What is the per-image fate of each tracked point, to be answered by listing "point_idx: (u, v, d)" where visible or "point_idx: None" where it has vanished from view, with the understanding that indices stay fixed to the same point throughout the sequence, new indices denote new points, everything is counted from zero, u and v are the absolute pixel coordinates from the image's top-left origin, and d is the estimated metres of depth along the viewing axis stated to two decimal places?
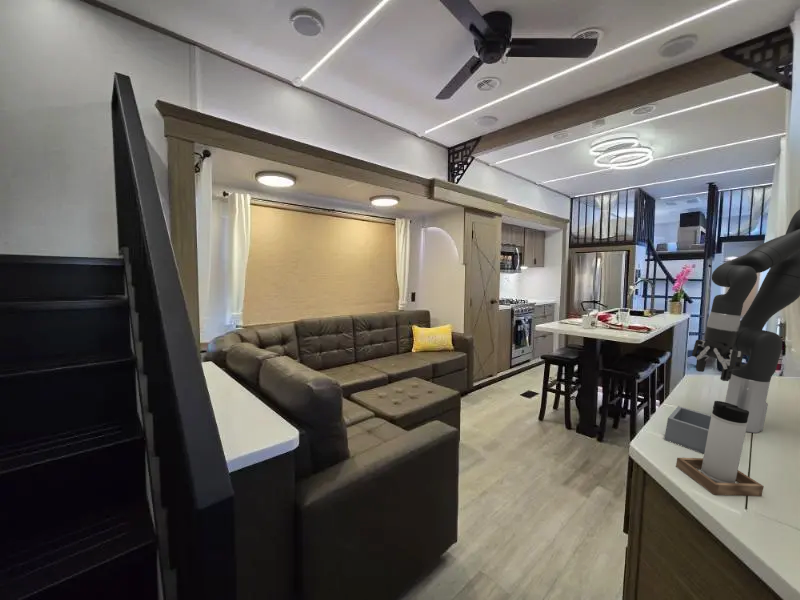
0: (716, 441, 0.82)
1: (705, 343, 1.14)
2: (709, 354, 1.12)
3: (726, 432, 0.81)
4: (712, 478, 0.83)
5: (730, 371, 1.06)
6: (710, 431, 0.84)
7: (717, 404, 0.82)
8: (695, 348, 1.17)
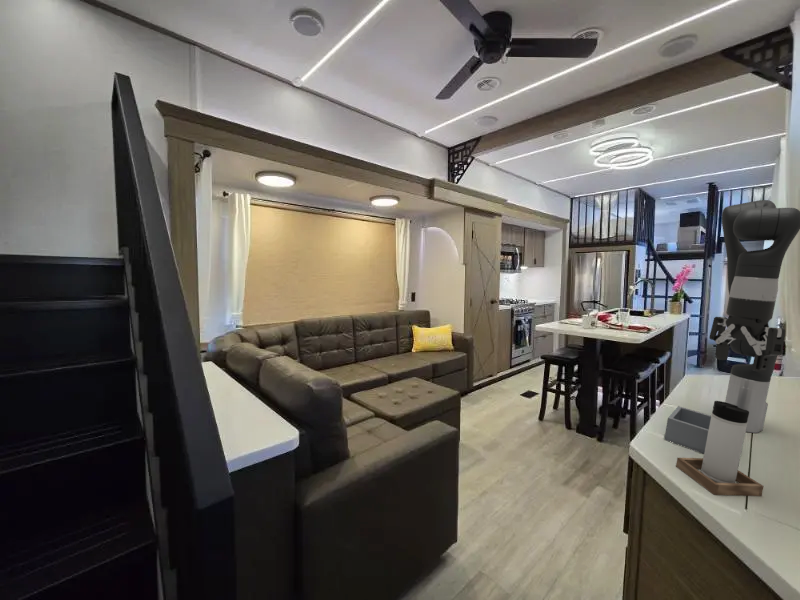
0: (716, 441, 0.82)
1: (728, 321, 0.83)
2: (734, 335, 0.81)
3: (726, 432, 0.81)
4: (712, 478, 0.83)
5: (766, 358, 0.75)
6: (710, 431, 0.84)
7: (717, 404, 0.82)
8: (714, 328, 0.86)
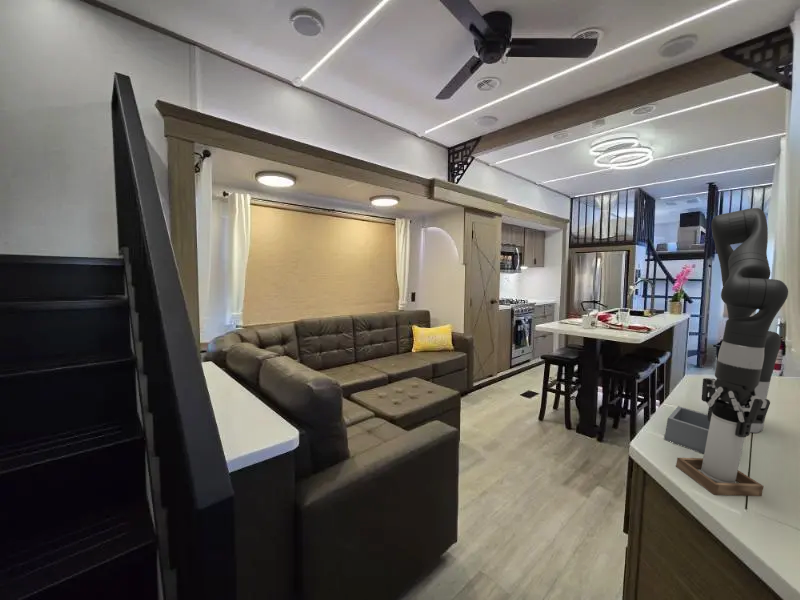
0: (717, 441, 0.82)
1: (716, 382, 0.85)
2: (724, 398, 0.83)
3: (726, 432, 0.81)
4: (712, 478, 0.83)
5: (748, 425, 0.78)
6: (710, 431, 0.84)
7: (717, 404, 0.82)
8: (704, 390, 0.88)
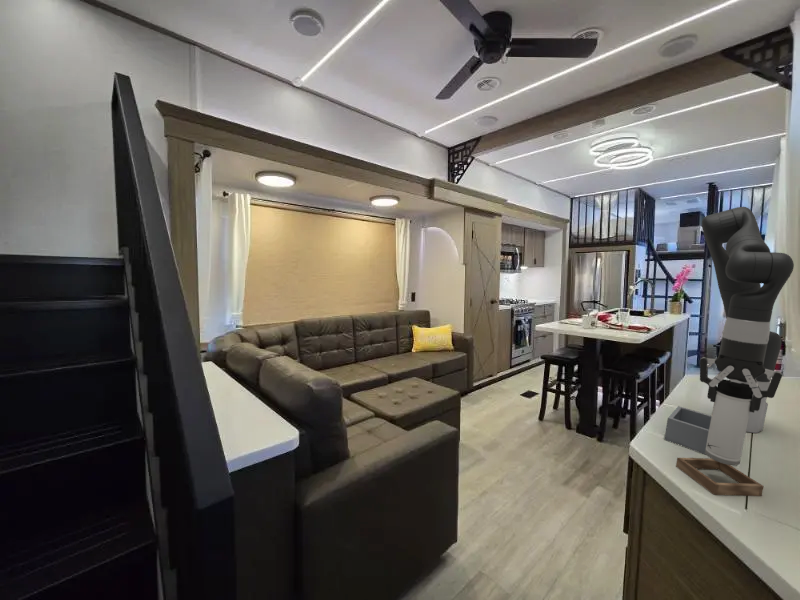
0: (734, 422, 0.80)
1: (719, 361, 0.82)
2: (731, 376, 0.81)
3: (743, 411, 0.79)
4: (729, 459, 0.81)
5: (761, 398, 0.78)
6: (723, 413, 0.81)
7: (734, 384, 0.79)
8: (703, 370, 0.84)
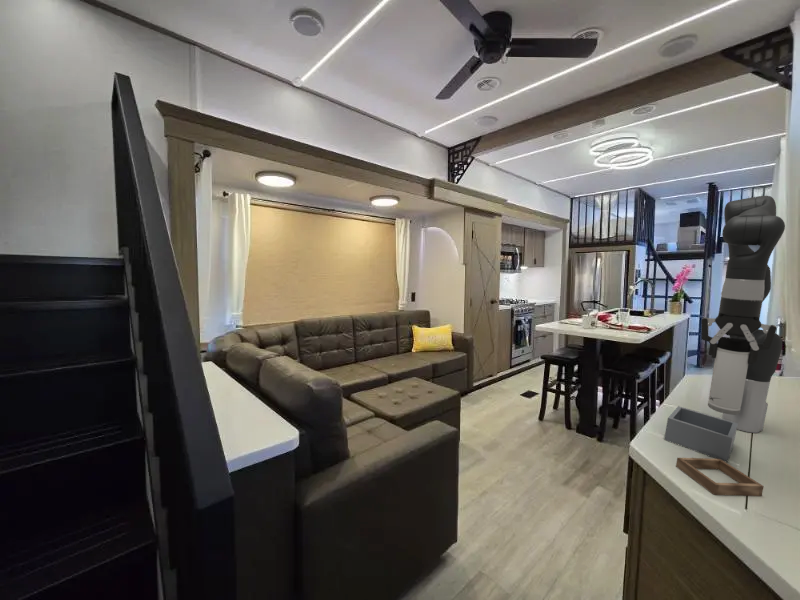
0: (734, 374, 0.87)
1: (719, 319, 0.89)
2: (730, 333, 0.88)
3: (742, 363, 0.86)
4: (730, 409, 0.88)
5: (758, 351, 0.85)
6: (724, 366, 0.88)
7: (733, 339, 0.86)
8: (704, 329, 0.91)
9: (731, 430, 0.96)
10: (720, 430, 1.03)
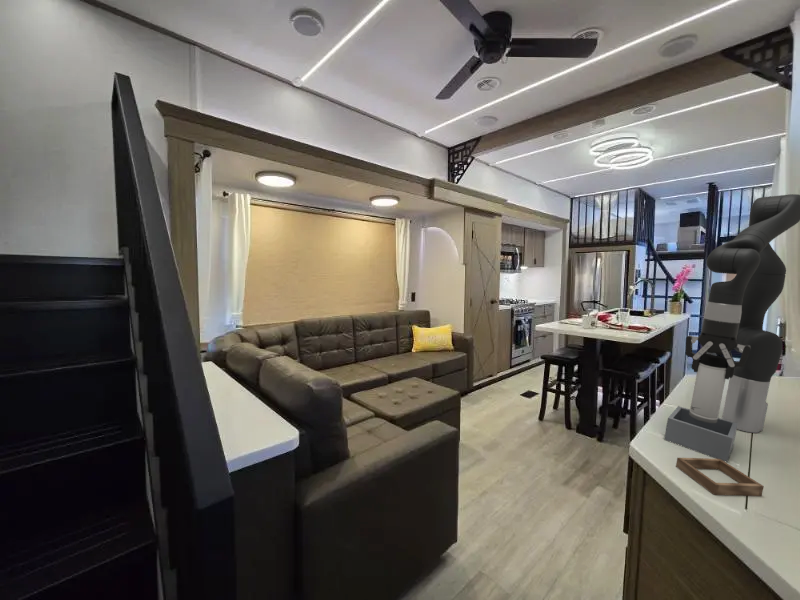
0: (712, 387, 0.98)
1: (701, 338, 1.00)
2: (711, 350, 0.99)
3: (719, 378, 0.97)
4: (708, 418, 0.99)
5: (734, 368, 0.96)
6: (704, 380, 0.99)
7: (712, 356, 0.97)
8: (688, 346, 1.02)
9: (731, 430, 0.96)
10: (720, 430, 1.03)
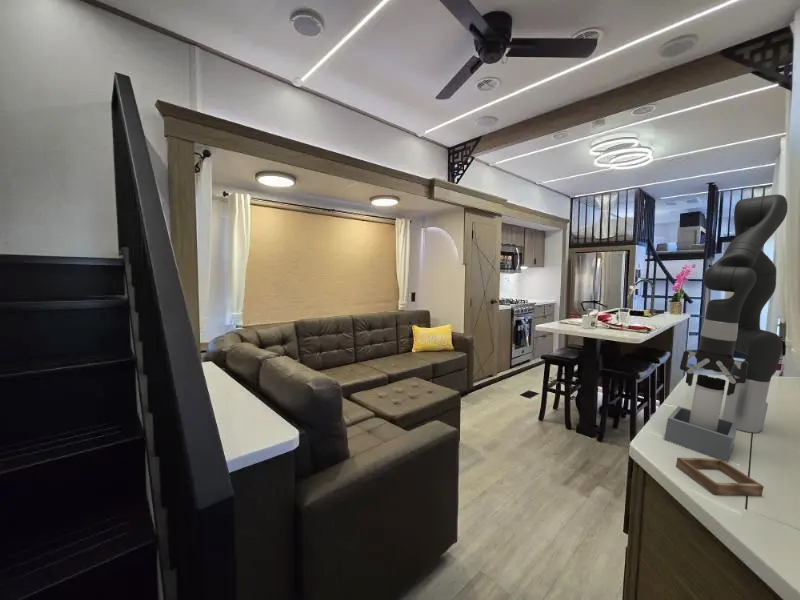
0: (709, 409, 0.98)
1: (698, 355, 1.01)
2: (706, 367, 1.00)
3: (716, 400, 0.98)
4: None
5: (735, 384, 0.96)
6: (701, 401, 1.00)
7: (709, 378, 0.98)
8: (684, 360, 1.03)
9: (731, 430, 0.96)
10: (720, 430, 1.03)
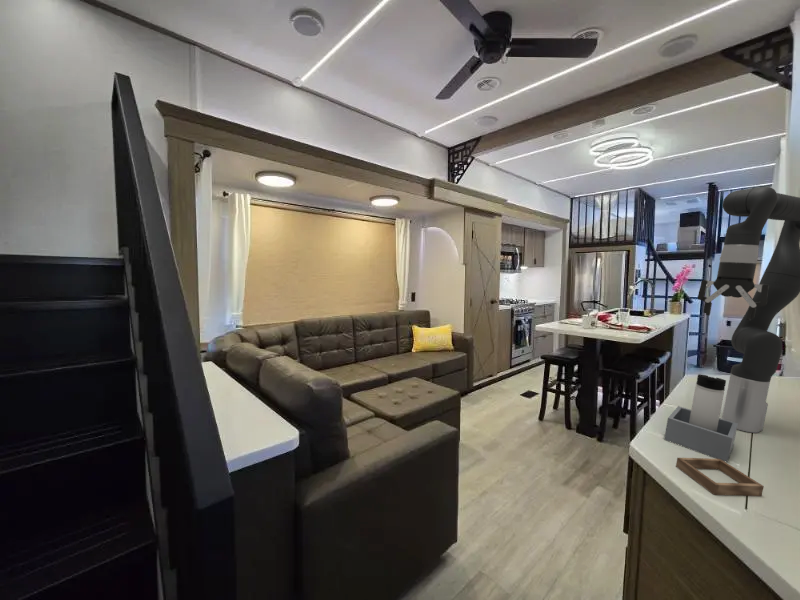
0: (709, 409, 0.98)
1: (717, 282, 0.99)
2: (725, 294, 0.98)
3: (716, 400, 0.98)
4: None
5: (755, 308, 0.95)
6: (701, 401, 1.00)
7: (709, 378, 0.98)
8: (702, 290, 1.02)
9: (731, 430, 0.96)
10: (720, 430, 1.03)
